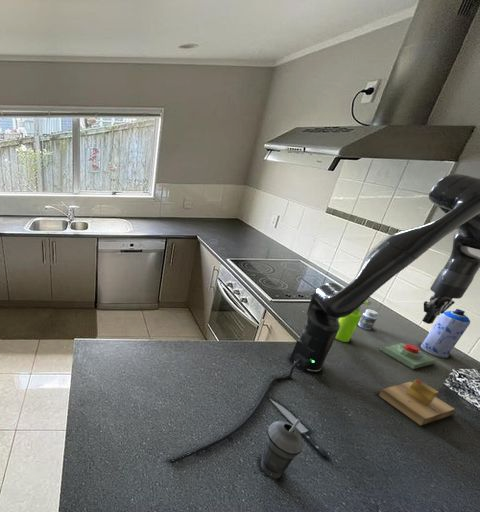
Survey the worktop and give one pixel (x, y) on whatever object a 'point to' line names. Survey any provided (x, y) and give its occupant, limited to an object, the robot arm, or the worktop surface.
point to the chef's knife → (298, 427)
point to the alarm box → (408, 356)
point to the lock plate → (415, 405)
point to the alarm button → (411, 348)
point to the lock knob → (422, 392)
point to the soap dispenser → (348, 325)
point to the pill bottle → (368, 319)
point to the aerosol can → (446, 333)
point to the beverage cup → (280, 447)
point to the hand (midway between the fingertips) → (427, 322)
